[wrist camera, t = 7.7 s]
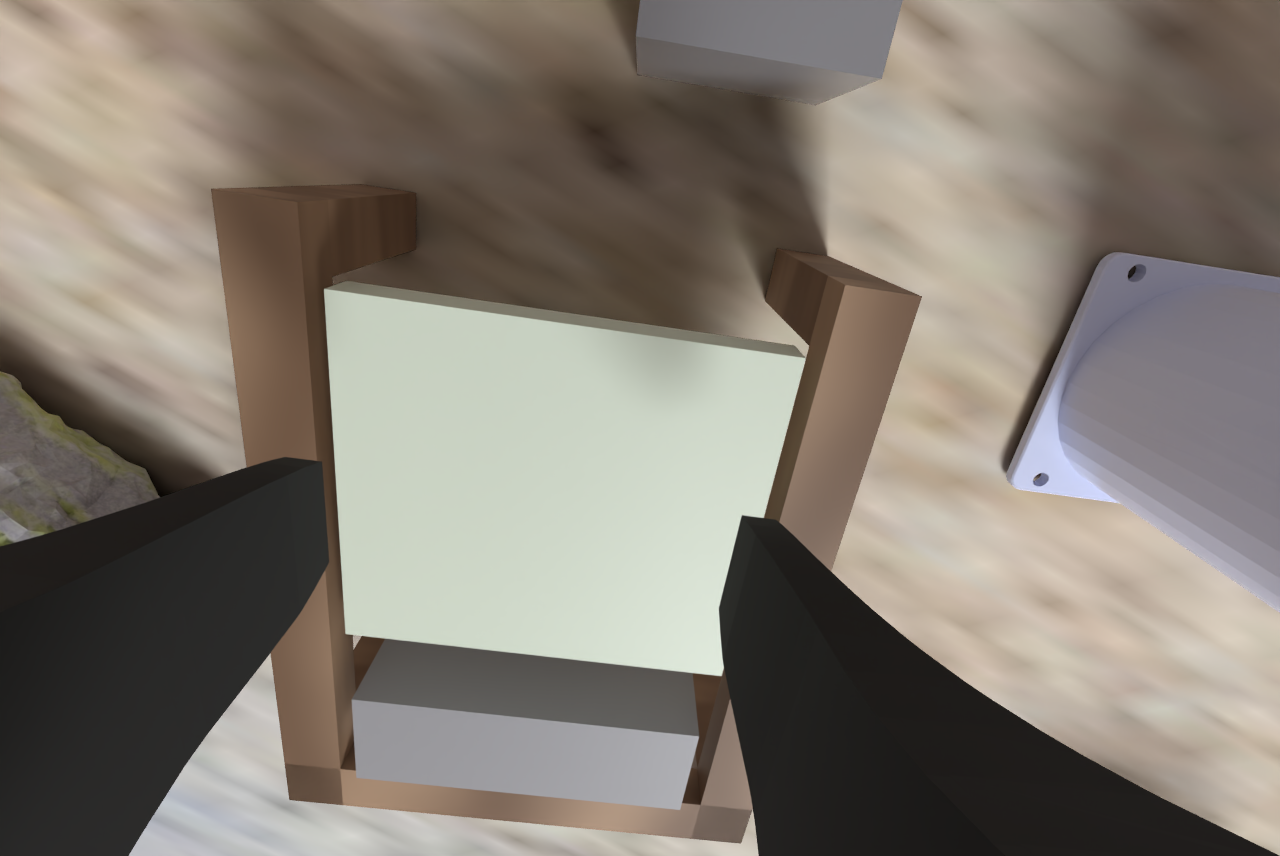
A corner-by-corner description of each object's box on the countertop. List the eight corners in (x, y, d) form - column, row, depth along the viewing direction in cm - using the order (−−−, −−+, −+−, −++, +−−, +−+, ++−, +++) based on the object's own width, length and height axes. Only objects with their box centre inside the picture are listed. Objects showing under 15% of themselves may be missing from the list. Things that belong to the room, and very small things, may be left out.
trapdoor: (687, 738, 19) (693, 811, 17) (377, 705, 19) (341, 776, 17) (787, 338, 14) (815, 368, 12) (360, 275, 14) (306, 295, 11)
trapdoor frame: (828, 256, 18) (922, 296, 12) (716, 682, 25) (741, 843, 19) (360, 184, 17) (211, 189, 11) (377, 644, 24) (289, 799, 18)
